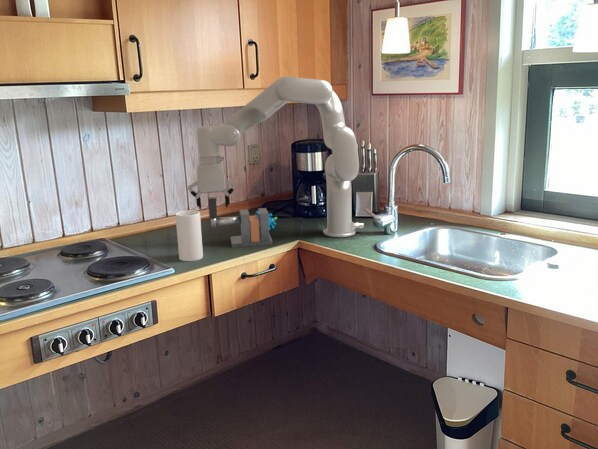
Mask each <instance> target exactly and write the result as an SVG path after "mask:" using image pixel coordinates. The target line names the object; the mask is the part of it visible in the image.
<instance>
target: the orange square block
mask: <svg viewBox="0 0 598 449" xmlns="http://www.w3.org/2000/svg"><path fill="white" fill-rule="evenodd" d="M257 216H258V215H257V214H256V215H255V214H253V215H249V218H250V238H251V242H255V241H259V221H258V218H257Z"/></svg>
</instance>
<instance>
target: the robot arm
mask: <svg viewBox="0 0 598 449" xmlns="http://www.w3.org/2000/svg"><path fill="white" fill-rule="evenodd" d="M289 102H290V103H291V102H292V103H297V104H310V105H315V107H317V109H318V111H319V114H320V119H321V126H322V133H323V135H322V136H323V142H324V144H325V146H326V147H327V149H330V150H331V153H332V154H330V155H329V156H328V157H327V158H326V160H325V164H324V174H325V180H326V219H327V220H326V224H327V226H326V228H324V229H323V235H325V236H328V237H331V238H347V237H351V236H355V234H356V229H364V228H365V224H364V222H353V221H352V209H353V208H352V205H353V204H352V202H353V201H352V193H353V192H352V191H353V189H352V181H354V180H355V178H356V177H358V174H359V172H360V160H359V158H360V157H359V151H358V150H359V149H358V143H357V137H356V135H355V133H354V130H352V128H350V127H349V126H346V122H345V116H344V109H343V106H342V102H341V100H340V98H339V96H338V94H336V92H335V91H334V89H333V86H332V85H331V84H330V82H328V81H327V80H325V79H315V78H305V77H296V76H295V77H294V76H282V77H279V78H278V79H276V80H275V81H273V82H272V83H271V84H270V85H269V86H267V88H264V90H262V92H260V93H259V94H258V95H257V96H255V97H254V98H253V99H251V101H249V102H247V103H246V104H245V105H244V106H243V107H241V108H240V109H239V110H238V111H236V112H235V113H233V114H232V115H231V116H230V117H229V118H227V119H226V120H224V122H223V123H221V124H220V126H215V125H201V126H199V127H197V129H196V139H197V142H196V143H197V150H198V154H197V155H198V162H199V163H198V164H197V169H196V181H194V182H193V183H191V184H189V185H188V186H187V189H188V191H189V192H190V194H191V195H192V197H194V198H195V199H196V207H198V209H199V210H201V209H202V201H201V195H202V194H210V193H221V192H222V193H223V194H224V202H225V205H224V206H225V208H228V206H229V205H230V195H232V193H233V192H234V190H235V187H236V182H234V181H232V180H230V179H229V180H228V179H227V178H226V174H225V168H224V164H223V163H221V162H223V161H225V157H224V156H222V155H220V154H221V152H220V151H221V150H220V147H221V146H222V147H234V146H236V145H238V144H239V143H240V141H241V138H242V134H244V133H245V132H246V131H247V130H249V129H250V128H251V127H253V126H255V125H257V124H259V123H263V122H264V121H267V120H268V119H269V118H270V117H272V116H273V115H274V114H275V113H276V112H277V111H278V110H280V109H281V108H282V107H284V106H285V105H286V104H287V103H289ZM227 185H229V186H230V188H229V189H228V190H227ZM195 187H197V192H196V191H194V189H193V188H195Z"/></svg>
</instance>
